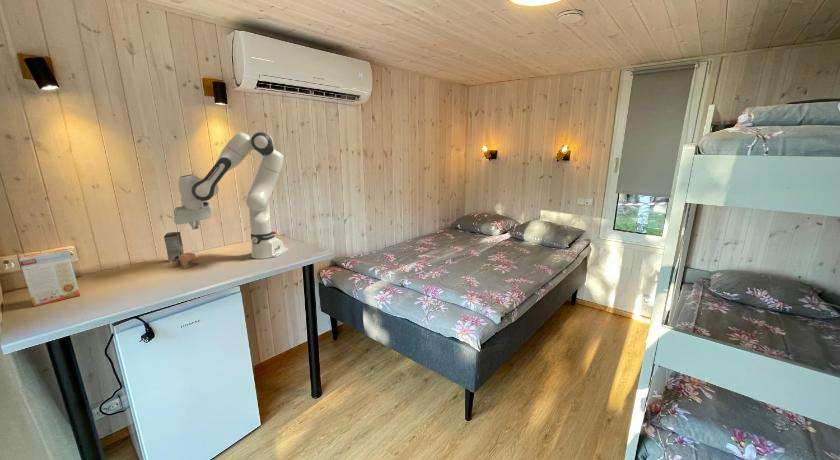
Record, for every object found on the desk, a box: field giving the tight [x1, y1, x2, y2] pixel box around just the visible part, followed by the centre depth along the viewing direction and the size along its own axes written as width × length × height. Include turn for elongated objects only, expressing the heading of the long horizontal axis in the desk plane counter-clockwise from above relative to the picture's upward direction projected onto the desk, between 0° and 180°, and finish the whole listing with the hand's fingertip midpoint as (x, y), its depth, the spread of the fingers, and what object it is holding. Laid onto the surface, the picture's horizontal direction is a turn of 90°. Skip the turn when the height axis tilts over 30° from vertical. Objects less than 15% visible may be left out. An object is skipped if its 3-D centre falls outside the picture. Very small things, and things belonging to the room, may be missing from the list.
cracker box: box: [18, 248, 81, 307], centre depth 144 cm, size 14×6×21 cm, turn 141°
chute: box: [172, 258, 199, 270], centre depth 183 cm, size 15×9×4 cm, turn 163°
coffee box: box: [163, 231, 185, 264], centre depth 195 cm, size 9×6×16 cm
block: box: [179, 252, 196, 267], centre depth 187 cm, size 5×5×6 cm
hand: (195, 229), depth 190 cm, fingers closed
